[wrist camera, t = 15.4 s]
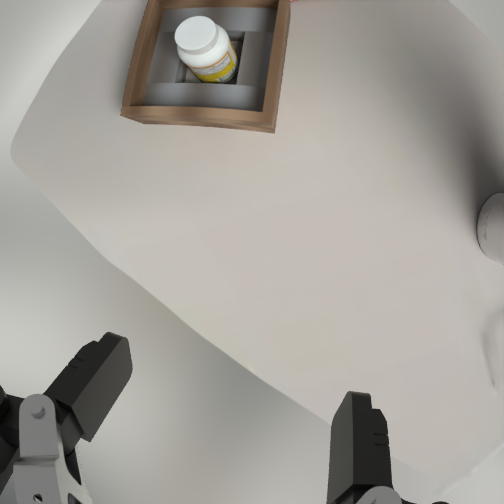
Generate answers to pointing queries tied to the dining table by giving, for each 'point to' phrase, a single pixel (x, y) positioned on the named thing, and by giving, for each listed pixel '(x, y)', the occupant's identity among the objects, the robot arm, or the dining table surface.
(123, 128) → the dining table surface
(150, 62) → the bore box
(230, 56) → the supplement bottle
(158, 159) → the dining table surface
